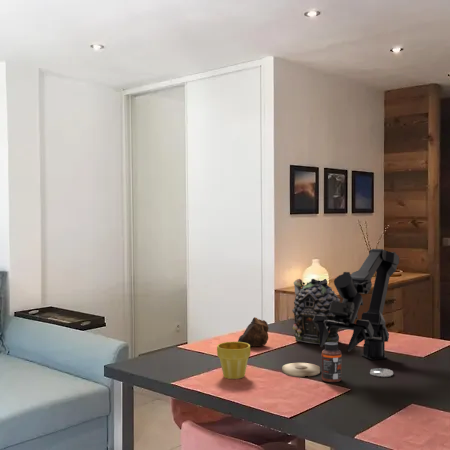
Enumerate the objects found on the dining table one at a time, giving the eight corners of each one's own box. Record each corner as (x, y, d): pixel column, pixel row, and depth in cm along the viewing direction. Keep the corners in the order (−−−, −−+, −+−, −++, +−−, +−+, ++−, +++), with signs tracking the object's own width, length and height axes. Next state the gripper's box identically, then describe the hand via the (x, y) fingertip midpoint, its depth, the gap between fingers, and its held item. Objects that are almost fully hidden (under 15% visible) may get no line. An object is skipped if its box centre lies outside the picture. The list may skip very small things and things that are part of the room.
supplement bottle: (341, 383, 172) (341, 345, 171) (321, 382, 173) (321, 345, 173) (341, 377, 178) (341, 341, 177) (322, 376, 179) (321, 340, 179)
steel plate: (384, 369, 186) (384, 367, 186) (397, 375, 180) (397, 373, 180) (365, 372, 184) (365, 369, 184) (378, 378, 177) (378, 375, 177)
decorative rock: (266, 343, 225) (266, 315, 225) (271, 346, 219) (271, 318, 219) (236, 345, 222) (236, 317, 222) (240, 348, 216) (240, 320, 216)
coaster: (308, 364, 193) (308, 361, 193) (327, 374, 182) (327, 370, 182) (276, 368, 189) (276, 364, 189) (293, 378, 177) (293, 374, 177)
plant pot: (226, 383, 173) (226, 350, 173) (211, 374, 182) (211, 343, 182) (256, 378, 178) (256, 346, 178) (240, 370, 187) (240, 340, 187)
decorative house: (284, 341, 228) (283, 278, 227) (301, 334, 240) (301, 274, 239) (333, 348, 216) (332, 281, 215) (349, 340, 228) (348, 277, 228)
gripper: (315, 289, 186) (298, 329, 177) (370, 294, 175) (355, 336, 166) (326, 310, 193) (310, 349, 184) (380, 316, 182) (366, 358, 173)
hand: (334, 348), depth 177 cm, fingers open, 9 cm apart
